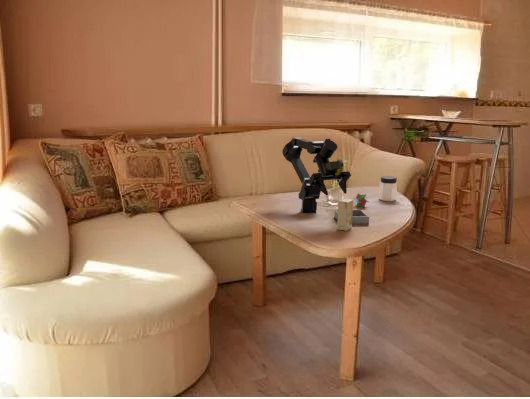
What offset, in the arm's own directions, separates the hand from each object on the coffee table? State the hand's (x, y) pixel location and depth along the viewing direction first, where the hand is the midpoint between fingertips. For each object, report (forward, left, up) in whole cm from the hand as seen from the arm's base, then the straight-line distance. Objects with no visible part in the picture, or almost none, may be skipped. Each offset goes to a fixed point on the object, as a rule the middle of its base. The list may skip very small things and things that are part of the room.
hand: (336, 194), depth 194 cm
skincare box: (+2, -7, -13) cm, 15 cm away
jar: (+39, +45, -13) cm, 61 cm away
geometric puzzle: (+20, +30, -13) cm, 39 cm away
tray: (+8, +5, -13) cm, 16 cm away
